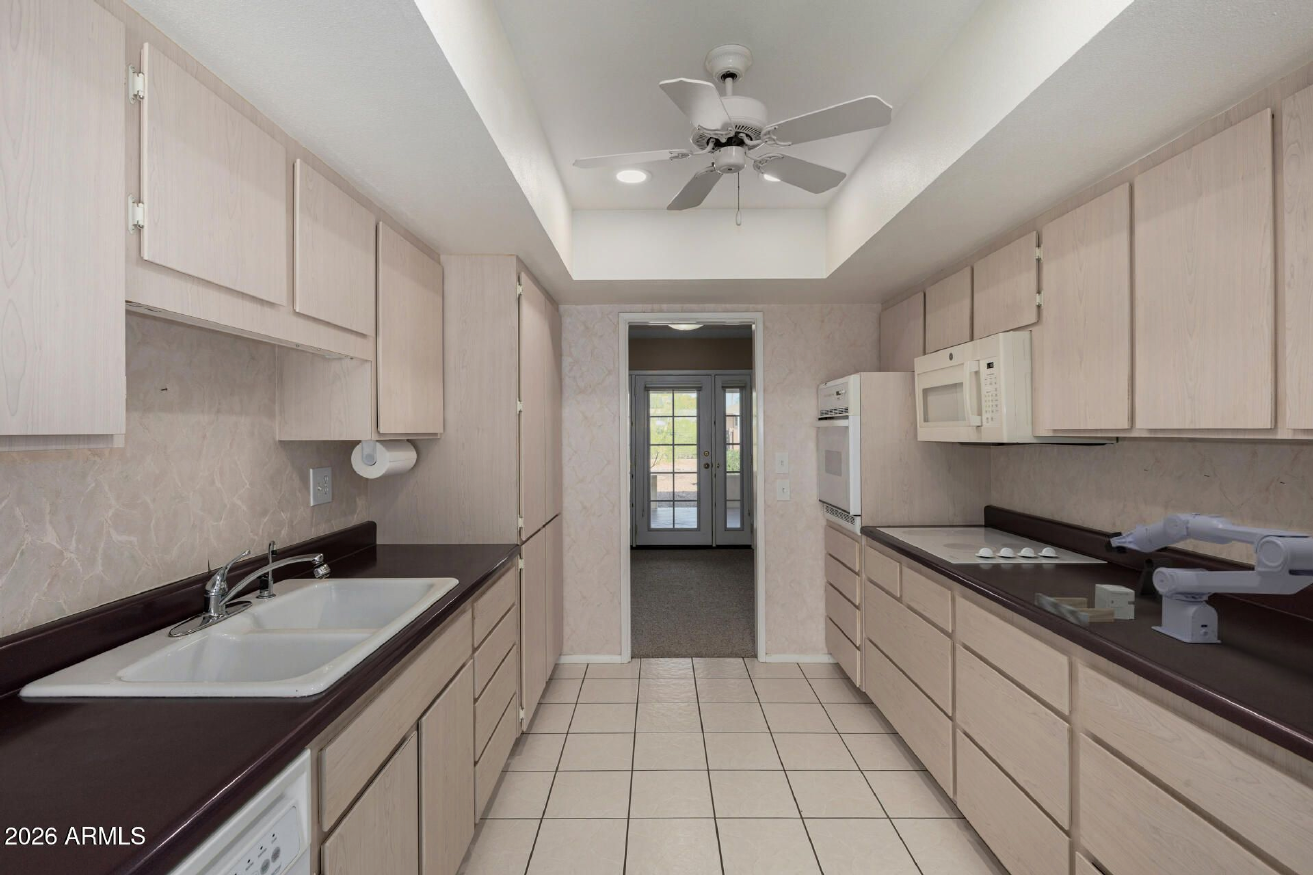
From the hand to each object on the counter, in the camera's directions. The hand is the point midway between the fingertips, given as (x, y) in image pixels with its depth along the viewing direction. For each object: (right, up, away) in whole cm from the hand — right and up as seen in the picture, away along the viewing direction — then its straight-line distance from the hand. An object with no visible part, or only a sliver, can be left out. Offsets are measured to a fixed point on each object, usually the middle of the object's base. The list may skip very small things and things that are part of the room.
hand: (1121, 547), depth 155 cm
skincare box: (-7, -17, -6) cm, 19 cm away
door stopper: (+17, -17, +8) cm, 25 cm away
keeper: (-15, -16, -6) cm, 23 cm away
